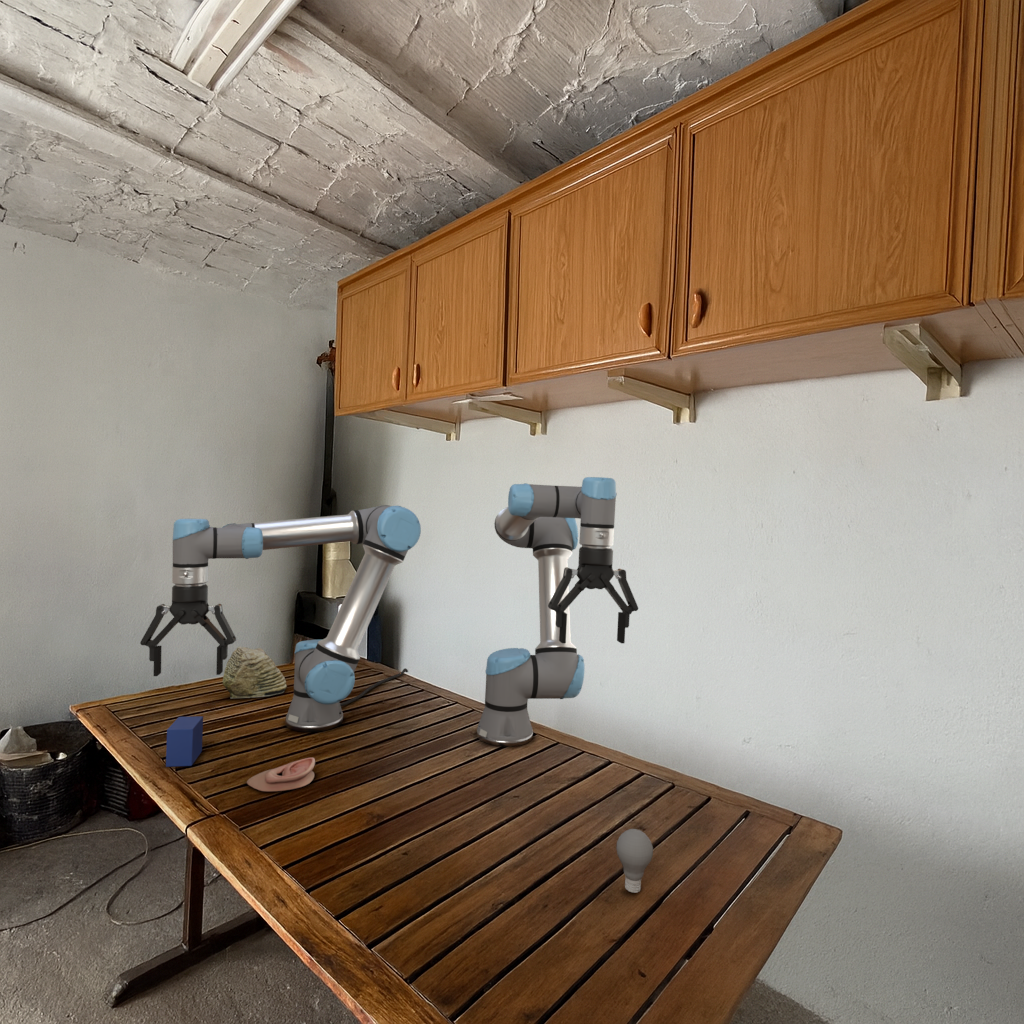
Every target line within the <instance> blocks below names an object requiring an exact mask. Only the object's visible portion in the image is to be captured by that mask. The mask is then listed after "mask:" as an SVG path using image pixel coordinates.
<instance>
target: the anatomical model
mask: <svg viewBox="0 0 1024 1024" xmlns="http://www.w3.org/2000/svg"><path fill="white" fill-rule="evenodd" d="M315 766H316V758H315V757H306V758H302V759H299V760H295V761H291V762H289V763H287V764H283V765H281V766H280V765H279V766H278V767H275V768H270V769H268V770H267V769H266V770H264V771H262V772H259V773H257V774H255V775H253V776H252V777H250V778H249V779H247V781H246V784H247V785H248V786H249V787H251V788H253V789H255V790H258V791H260V792H282V791H283V792H284V791H290V790H295V789H299V788H302V787H305V786H307V785H309V784H310V783H311V782H312V781H313V780H314V778H315V772H314V771H313V769H314V767H315Z"/></svg>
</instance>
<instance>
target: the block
mask: <svg viewBox="0 0 1024 1024" xmlns="http://www.w3.org/2000/svg"><path fill="white" fill-rule="evenodd" d="M203 733H204V716H201V715H199V716H197V715H196V716H178V717H176V720H175V721H173V723H172V724H171V725H170V726H169V727H168V728H167V729H166V749H165V750H166V753H165V768H168V767H169V768H170V767H171V768H172V767H192V766H193V765H194V763H195V762H196V761H197V759H198V757H199V756H200V754H201V753H202V752H203Z"/></svg>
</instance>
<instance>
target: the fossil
mask: <svg viewBox="0 0 1024 1024" xmlns="http://www.w3.org/2000/svg"><path fill="white" fill-rule="evenodd" d="M222 676H223V677H222V685H223V687H224V688H225V690H226V691H228V693H229V698H230V699H250V698H264V697H271V696H275V695H281V694H284V693H285V691H286V689H287V687H288V686H287V680H286V678H285V676H284V674H283V673H282V672H281V669H279V668H278V667H277V665H276V663H275V662H274V660H273V659H272V658H271V657H270V656H269V655H268V654H267V653H266V652H265V650H264V649H263V648H260V647H258V648H251V647H247V646H246V647H245V646H238V647H237V648H236V649H235V650H233V651H232V653H231V656H230V657H229V659H228V660H227V663H226V666H225V668H224V671H223V675H222Z"/></svg>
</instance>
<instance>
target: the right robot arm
mask: <svg viewBox="0 0 1024 1024" xmlns="http://www.w3.org/2000/svg"><path fill="white" fill-rule="evenodd" d="M616 482H617V481H616V480H615V479H614V478H612V477H602V476H601V477H599V476H586V477H584V478H583V479H582V482H581V486H576V485H575V486H573V485H571V486H570V485H550V484H535V483H534V484H532V483H513V484H511V485H510V487H509V491H508V495H507V497H508V498H507V507H505V508H503V509H500V511H499V512H498V513H497V515H496V516H495V519H494V523H493V524H494V531H495V533H496V535H497V536H498V537H499V539H500V540H502V541H503V542H504V543H506V544H508V545H509V546H512V547H515V548H521V549H532V556H533V558H535V559H536V560H537V565H538V566H537V567H538V569H537V570H538V601H539V603H538V604H539V605H538V607H539V641H540V642H539V644H538V645H537V646H536V647H535V648H534V651H535V652H534V654H531V652H530V650H528V649H526V648H522V647H521V648H519V647H510V648H502V649H499V650H494V651H493V652H492V653H490V654H489V655H488V657H487V659H486V665H485V666H486V667H485V691H484V708H483V710H482V714H481V716H480V719H479V722H478V724H477V728H476V738H477V739H478V740H480V741H481V742H483V743H485V744H488V745H492V746H496V747H519V746H523V745H527V744H528V743H530V742H531V741H532V740H533V738H534V730H533V726H532V724H531V719H530V714H529V710H528V703H529V702H528V701H529V700H531V699H533V700H535V699H536V700H537V699H538V700H540V699H541V700H544V699H546V700H547V699H548V700H549V699H550V700H551V699H556V700H564V699H574V698H576V697H577V696H578V695H580V693H581V691H582V688H583V685H584V679H585V666H586V665H585V659H584V657H583V655H581V654H579V653H578V649H577V648H578V647H577V646H575V644H574V643H572V636H571V613H570V610H571V609H570V605H571V604H572V603H573V602H574V600H575V599H577V598H578V596H579V595H580V594H581V593H582V592H583V591H584V590H585V589H588V590H595V589H597V590H604V589H605V590H606V591H607V593H608V594H609V596H610V597H611V599H612V600H613V601H614V602H615V603H616V605H617V606H618V608H619V609H620V611H618V613H617V630H616V631H617V632H616V641H617V642H618V643H620V644H625V643H626V641H625V640H626V629H628V628H629V627H630V615H632V613H633V612H637V611H639V605H638V603H637V601H636V599H635V596H634V594H633V592H632V589H631V587H630V584H629V582H628V579H627V571H626V570H625V569H623V568H617V569H613V563H614V550H613V548H611V547H613V546H614V541H615V539H614V538H615V520H616V502H617V500H616V499H617V496H618V495H617V483H616ZM576 519H580V522H579V523H580V525H579V528H580V529H578V523H577V520H576ZM578 544H579V545H580V547H579V548H578V564H577V565H578V566H577V568H570V567H569V565H568V563H569V562H568V560H569V558H571V556H572V555H573V551H574V550H576V549H577V547H578ZM575 576H577V578H578V581H576V583H575V584H574V586H573V587H572V589H571V590H570V587H569V585H570V583H571V581H572V579H574V578H575ZM613 577H614V578H615V579H616V580H617V582H618V585H619V587H620V589H621V591H622V594H623V596H624V598H625V600H626V602H625V601H624V599H623V598H622V597H621V595H620V594H619V592H618V591H617V589H615V587H614V585H613V584H612V582H611V580H612V579H613Z"/></svg>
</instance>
